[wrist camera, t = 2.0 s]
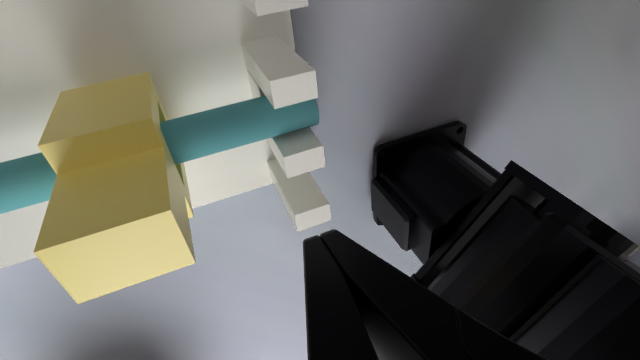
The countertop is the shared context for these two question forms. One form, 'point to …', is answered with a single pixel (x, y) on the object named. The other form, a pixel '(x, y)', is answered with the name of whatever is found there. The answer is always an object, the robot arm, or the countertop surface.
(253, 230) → the countertop surface
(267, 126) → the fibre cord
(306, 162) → the cable comb
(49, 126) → the sleeve
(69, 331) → the countertop surface
